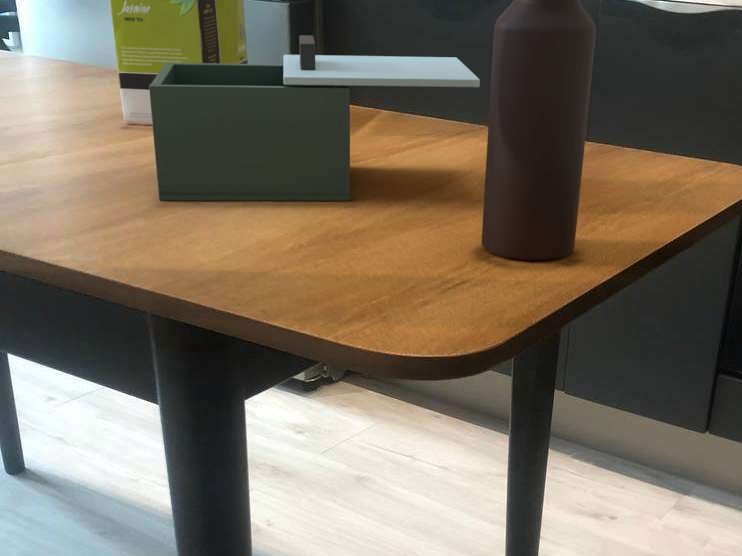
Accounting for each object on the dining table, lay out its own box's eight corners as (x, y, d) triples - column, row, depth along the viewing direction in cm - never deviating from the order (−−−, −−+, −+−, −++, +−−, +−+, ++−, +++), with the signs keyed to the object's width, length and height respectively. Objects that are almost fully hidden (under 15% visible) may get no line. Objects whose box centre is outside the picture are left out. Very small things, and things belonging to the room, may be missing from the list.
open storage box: (159, 200, 89) (148, 85, 84) (173, 164, 100) (165, 62, 96) (350, 201, 90) (349, 88, 86) (342, 165, 102) (341, 65, 97)
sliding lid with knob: (283, 84, 85) (282, 49, 84) (283, 61, 97) (282, 30, 96) (479, 87, 87) (481, 52, 85) (456, 64, 98) (457, 33, 97)
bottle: (582, 263, 76) (616, -59, 66) (486, 262, 76) (506, -62, 66) (565, 237, 82) (594, -62, 72) (476, 235, 82) (493, -65, 72)
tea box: (171, 102, 130) (160, -37, 122) (252, 107, 128) (246, -33, 121) (120, 124, 117) (104, -30, 109) (209, 129, 115) (199, -26, 108)
